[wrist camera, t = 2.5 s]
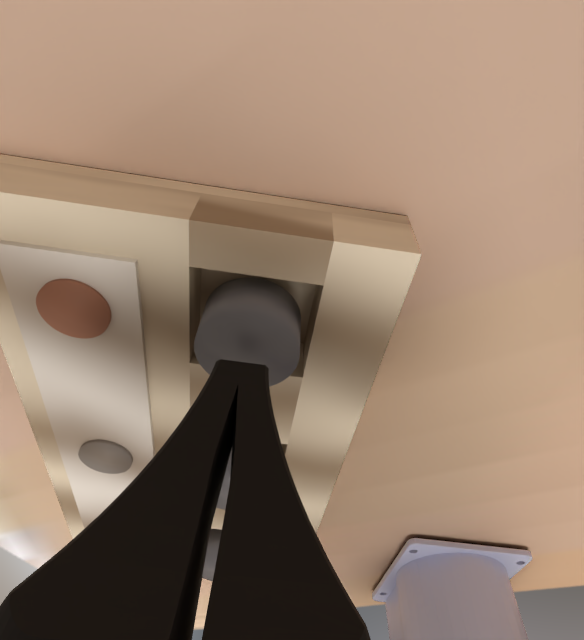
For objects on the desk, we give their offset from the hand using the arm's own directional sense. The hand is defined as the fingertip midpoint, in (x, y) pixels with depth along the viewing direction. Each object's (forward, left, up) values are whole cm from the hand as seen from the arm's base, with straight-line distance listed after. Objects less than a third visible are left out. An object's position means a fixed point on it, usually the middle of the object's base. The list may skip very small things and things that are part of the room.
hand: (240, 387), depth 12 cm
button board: (-8, +2, -5) cm, 10 cm away
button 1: (0, 0, -3) cm, 3 cm away
